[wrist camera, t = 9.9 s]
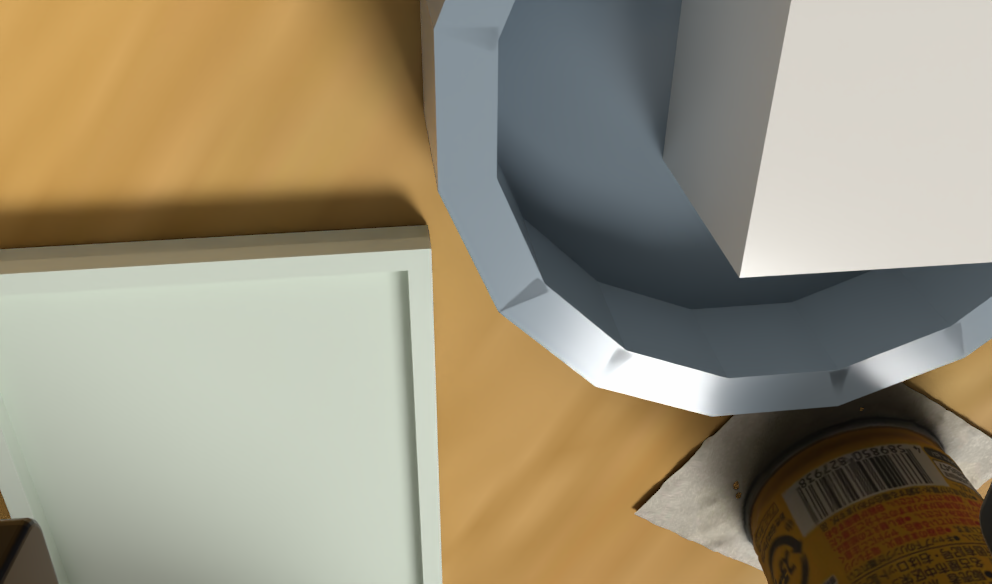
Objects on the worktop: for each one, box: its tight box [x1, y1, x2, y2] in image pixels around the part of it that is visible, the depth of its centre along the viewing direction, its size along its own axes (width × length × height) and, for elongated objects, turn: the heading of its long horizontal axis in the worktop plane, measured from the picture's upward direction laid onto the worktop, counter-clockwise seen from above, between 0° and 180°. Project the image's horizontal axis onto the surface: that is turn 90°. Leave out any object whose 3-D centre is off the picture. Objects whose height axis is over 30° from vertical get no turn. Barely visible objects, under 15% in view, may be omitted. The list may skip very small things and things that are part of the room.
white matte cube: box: [663, 0, 992, 278], centre depth 16 cm, size 4×4×4 cm
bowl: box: [420, 0, 992, 417], centre depth 17 cm, size 14×14×4 cm
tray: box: [0, 225, 442, 584], centre depth 23 cm, size 12×10×1 cm
